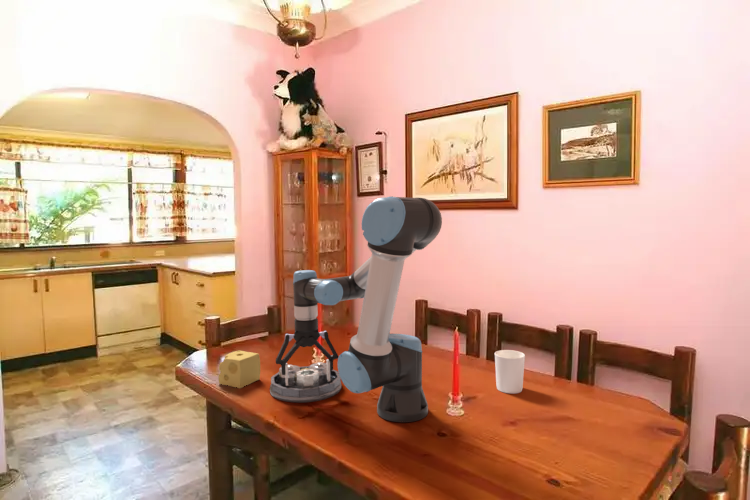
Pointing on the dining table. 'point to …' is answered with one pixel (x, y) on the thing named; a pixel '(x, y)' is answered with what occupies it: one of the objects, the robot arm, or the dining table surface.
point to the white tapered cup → (509, 370)
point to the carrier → (306, 394)
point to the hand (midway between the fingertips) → (307, 382)
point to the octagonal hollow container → (307, 378)
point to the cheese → (239, 369)
